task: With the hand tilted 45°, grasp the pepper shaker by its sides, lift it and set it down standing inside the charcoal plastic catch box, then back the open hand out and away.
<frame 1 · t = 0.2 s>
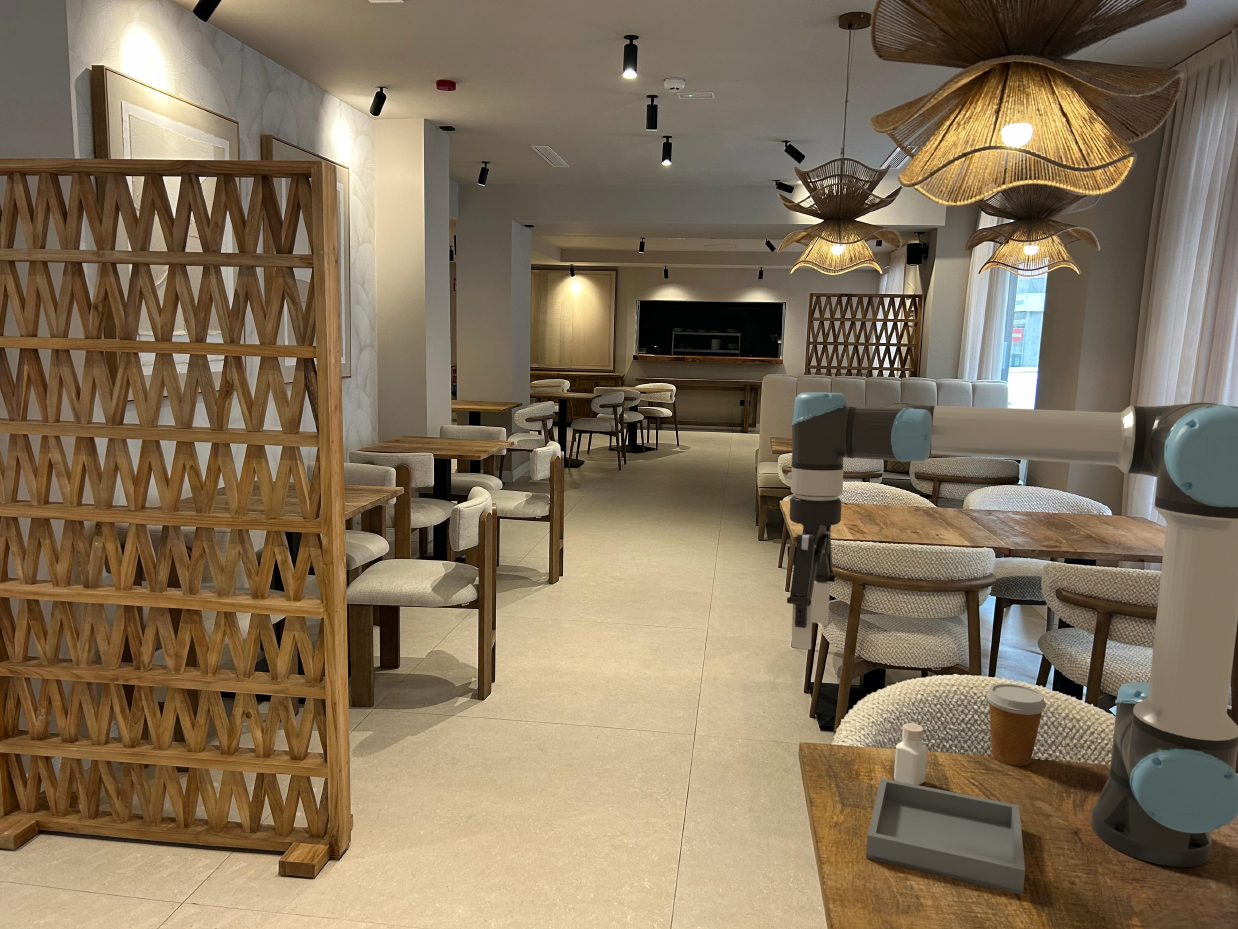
hand: (810, 634, 131), 28 cm above the table, tool pointing down, fingers open, 13 cm apart
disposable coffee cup: (1010, 758, 153), on the table
catch box: (944, 842, 125), on the table
pepper shaker: (909, 782, 143), on the table
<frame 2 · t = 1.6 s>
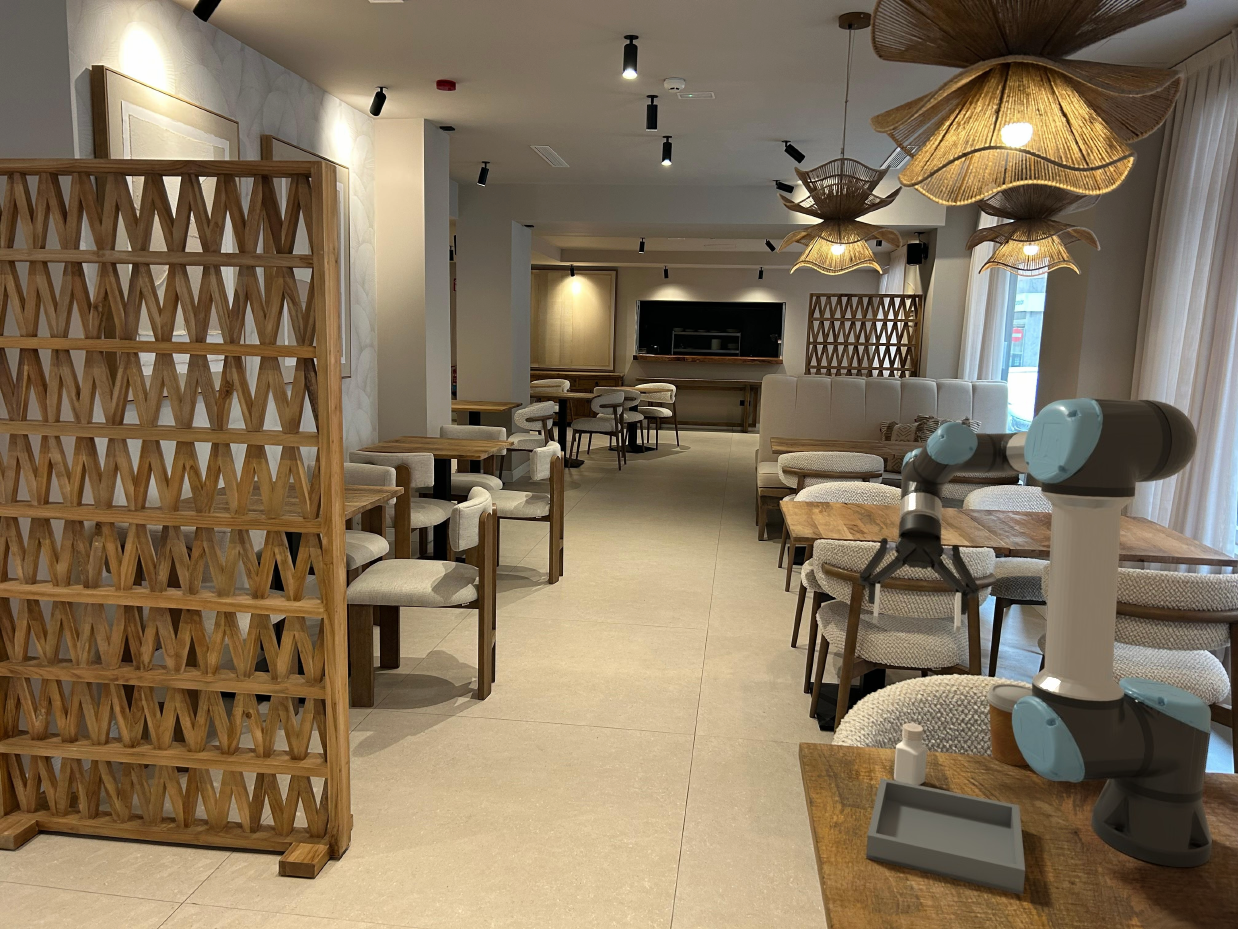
hand: (915, 624, 150), 24 cm above the table, tool tilted 45°, fingers open, 13 cm apart
nothing on the table moved.
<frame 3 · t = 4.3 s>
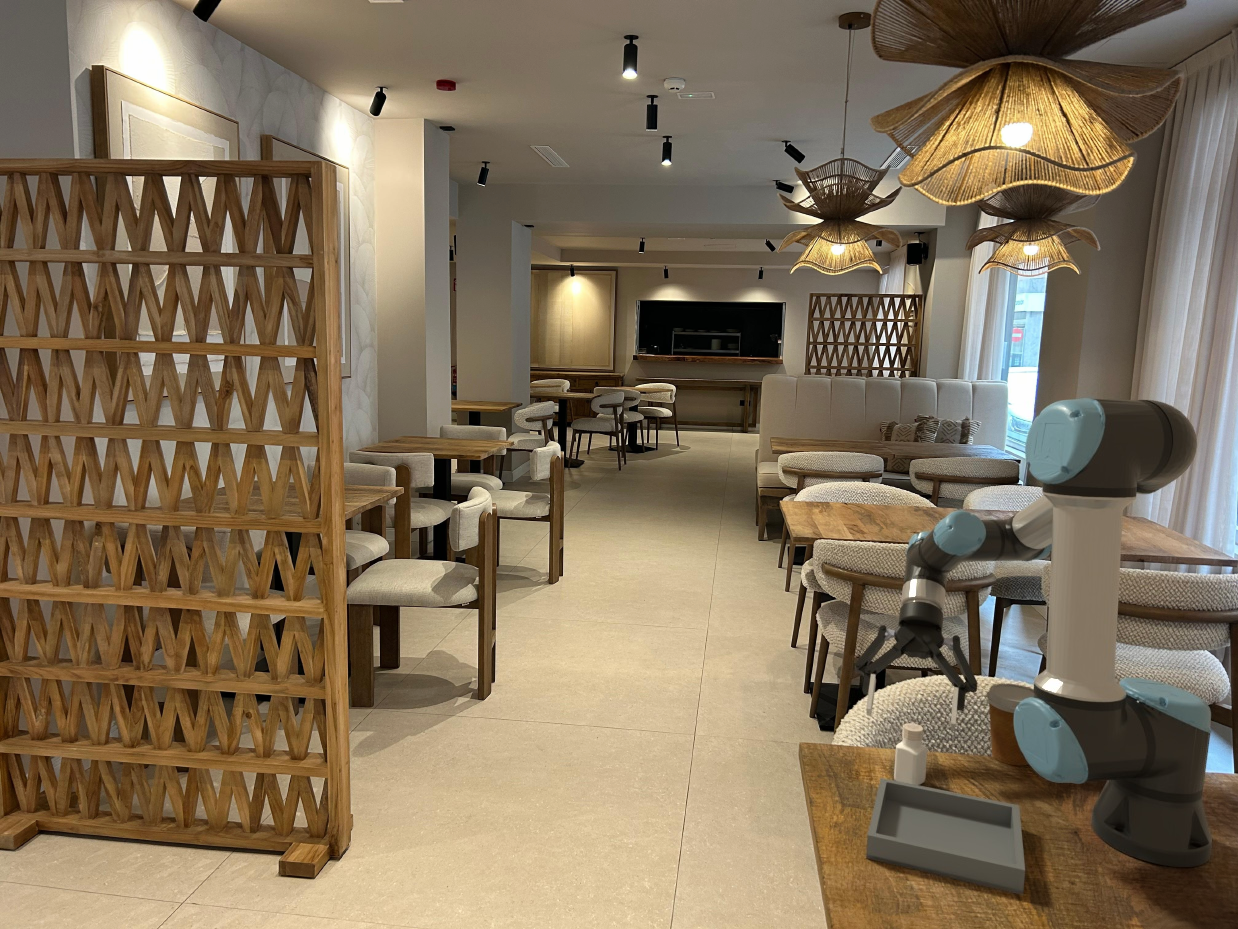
hand: (910, 719, 146), 9 cm above the table, tool tilted 45°, fingers open, 13 cm apart
nothing on the table moved.
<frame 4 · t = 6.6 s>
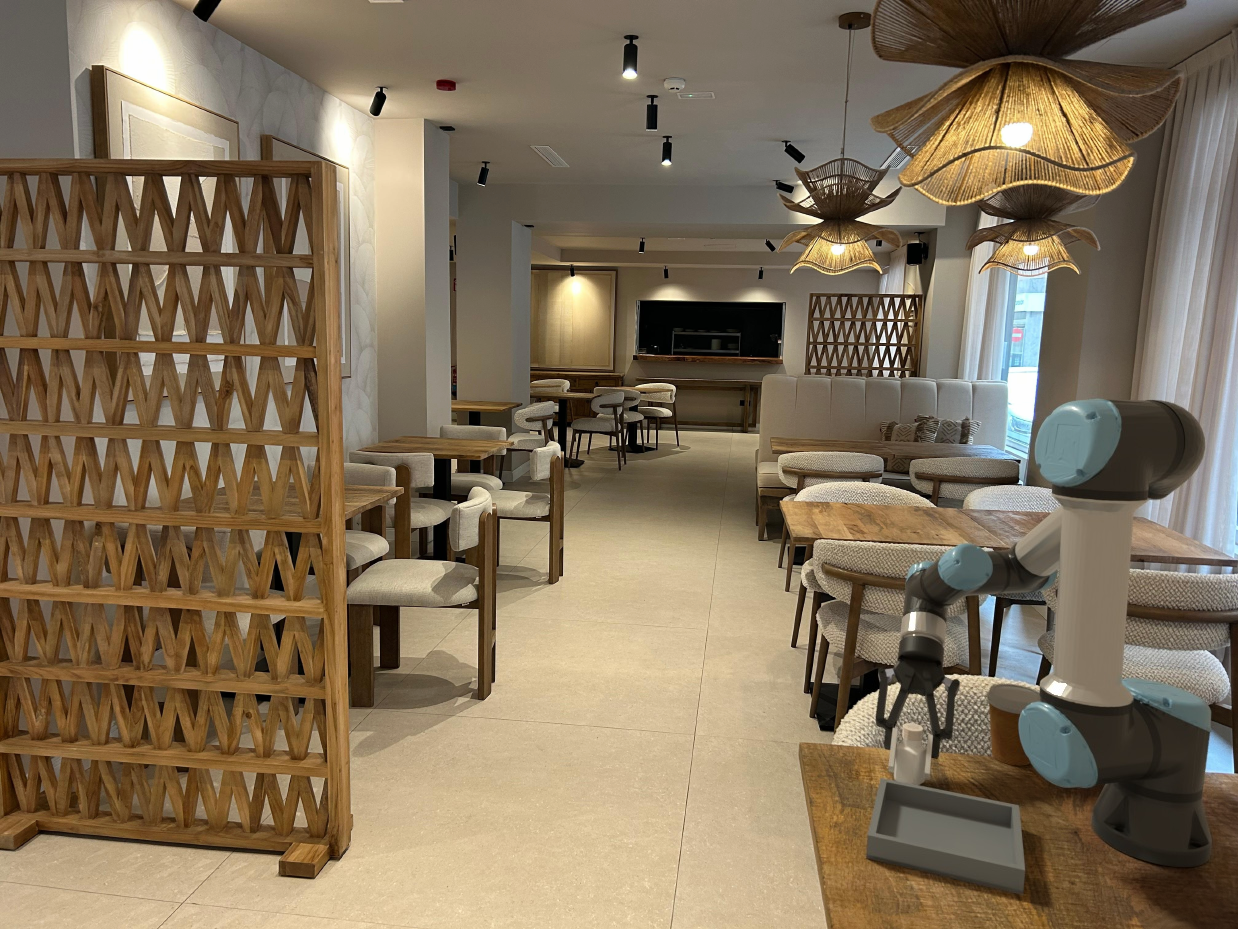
hand: (908, 772, 139), 3 cm above the table, tool tilted 45°, fingers closed on pepper shaker, 5 cm apart
pepper shaker: (909, 782, 143), on the table, touching gripper
everything else where it was.
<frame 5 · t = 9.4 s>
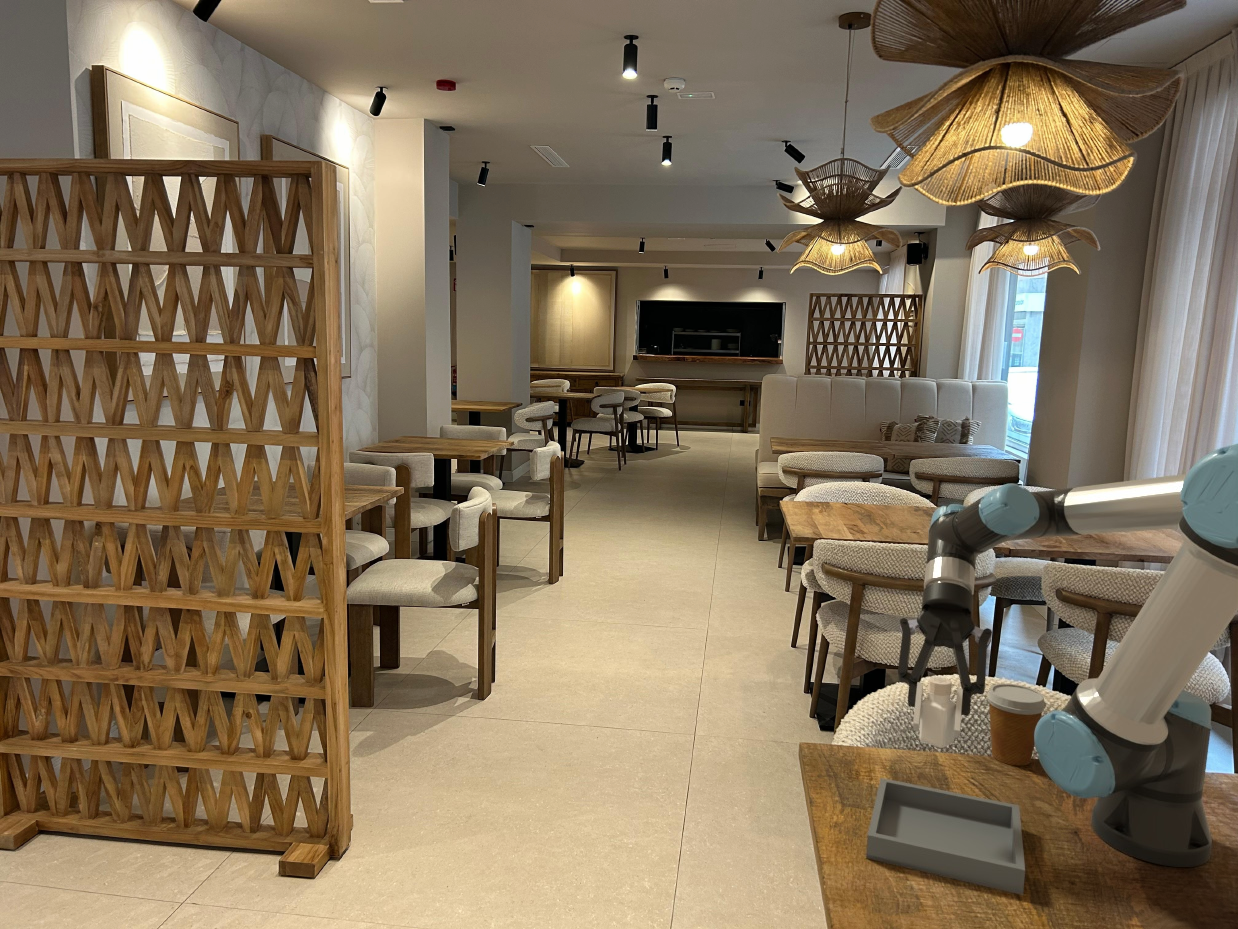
hand: (936, 730, 124), 16 cm above the table, tool tilted 45°, fingers closed on pepper shaker, 5 cm apart
pepper shaker: (936, 743, 128), point 13 cm above the table, touching gripper
everything else where it was.
when the fingers open (5 cm above the table, at t = 12.1 s): pepper shaker drops 1 cm, resting on catch box.
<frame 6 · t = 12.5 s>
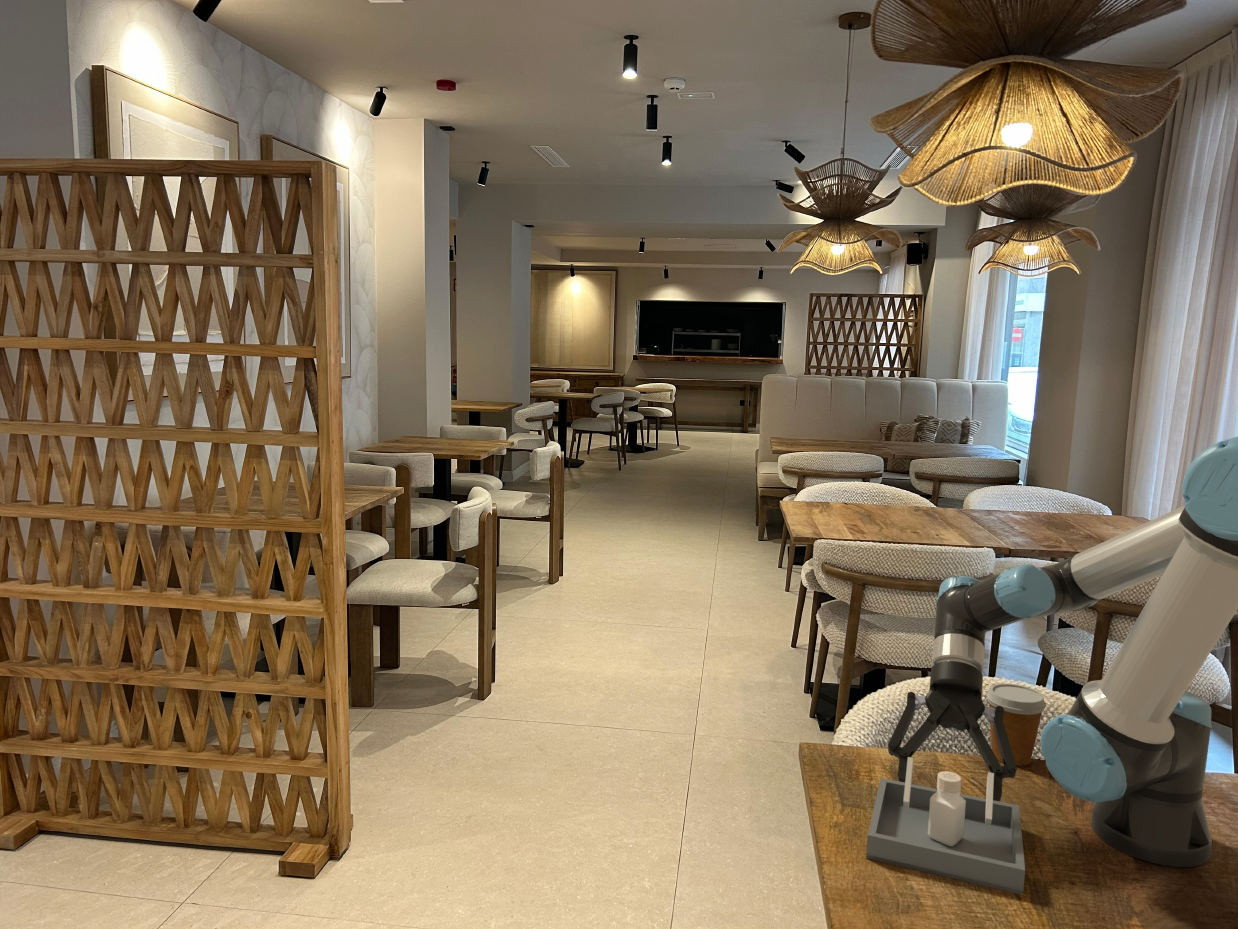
hand: (946, 813, 122), 6 cm above the table, tool tilted 45°, fingers open, 10 cm apart
pepper shaker: (945, 839, 125), resting on catch box
everything else where it was.
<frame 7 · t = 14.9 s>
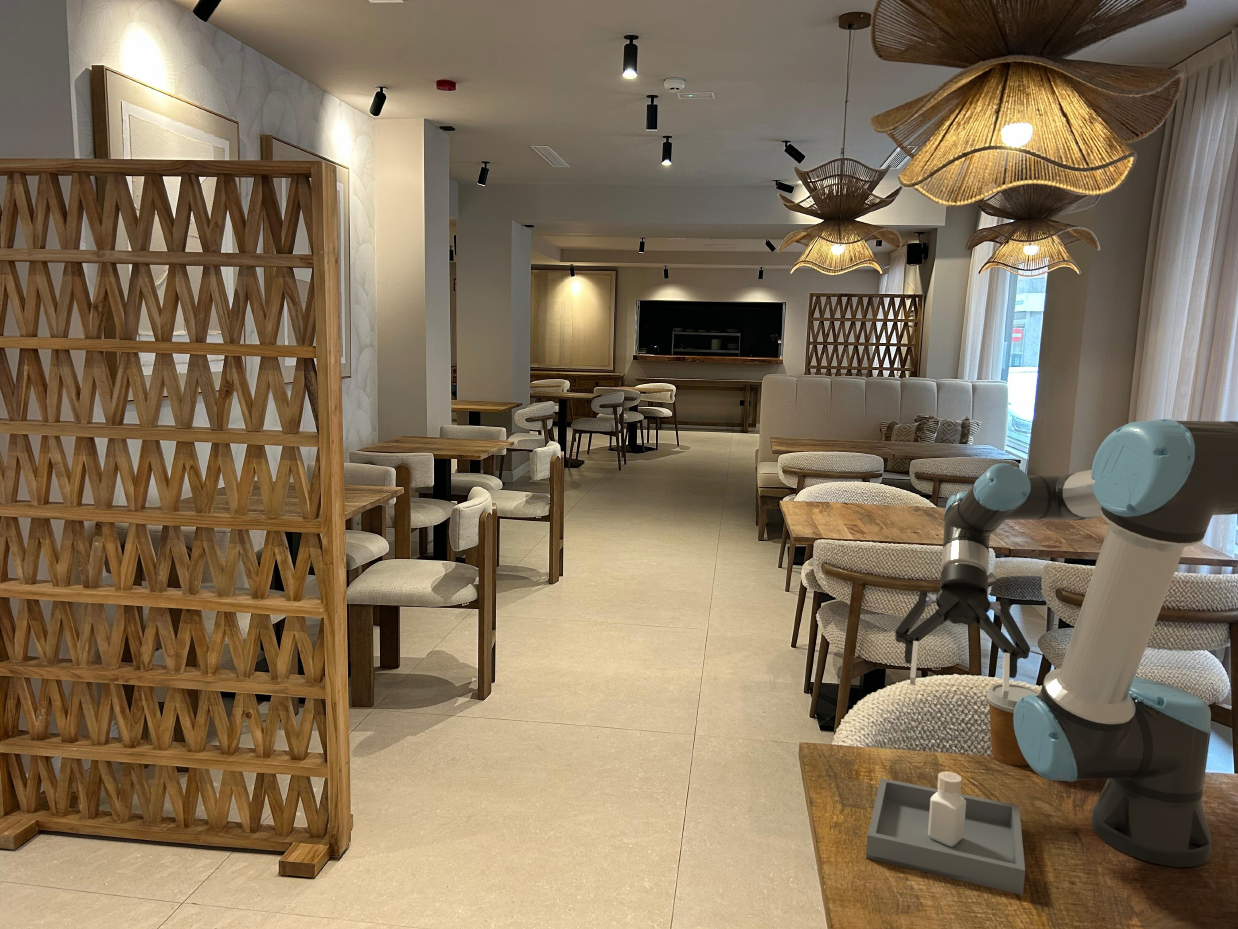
hand: (958, 688, 135), 19 cm above the table, tool tilted 45°, fingers open, 13 cm apart
nothing on the table moved.
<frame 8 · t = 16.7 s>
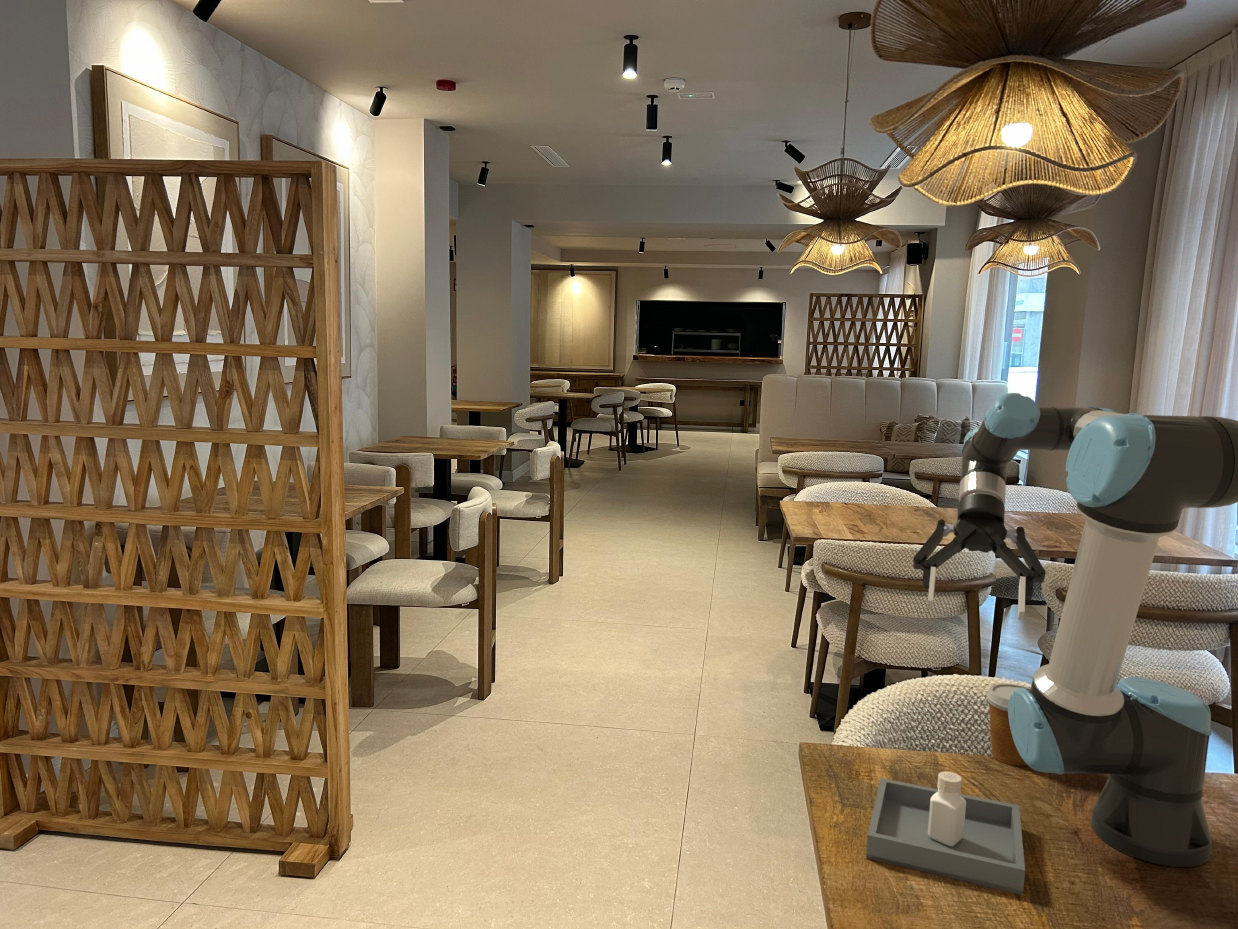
hand: (974, 610, 139), 30 cm above the table, tool tilted 45°, fingers open, 13 cm apart
nothing on the table moved.
at the end: pepper shaker inside the target area on the catch box (0.1 cm from its centre), point 0.4 cm above the catch box's base; the gripper is holding nothing; pepper shaker tilted 0° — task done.
